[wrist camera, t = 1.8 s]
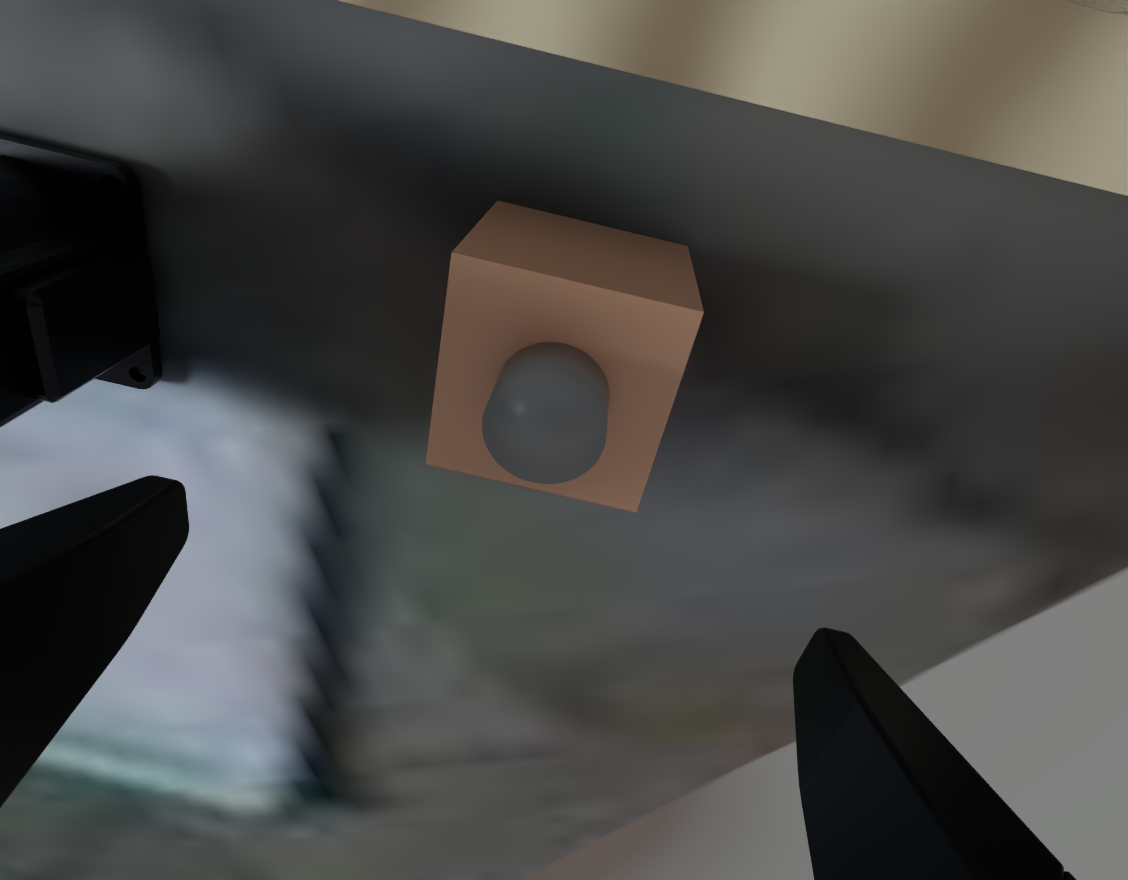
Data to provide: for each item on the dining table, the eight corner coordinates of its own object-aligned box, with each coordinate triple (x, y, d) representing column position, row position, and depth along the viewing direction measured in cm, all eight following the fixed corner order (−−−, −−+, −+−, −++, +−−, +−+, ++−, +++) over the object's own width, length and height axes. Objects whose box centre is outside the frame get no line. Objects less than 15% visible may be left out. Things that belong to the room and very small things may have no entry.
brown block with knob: (471, 372, 20) (404, 504, 14) (498, 199, 17) (429, 277, 12) (636, 411, 20) (636, 558, 14) (687, 245, 17) (711, 343, 12)
